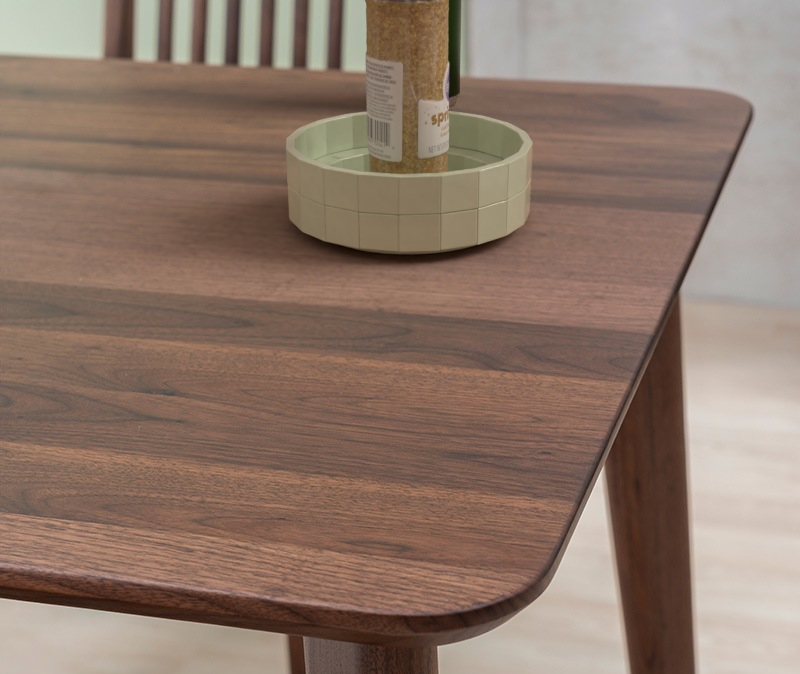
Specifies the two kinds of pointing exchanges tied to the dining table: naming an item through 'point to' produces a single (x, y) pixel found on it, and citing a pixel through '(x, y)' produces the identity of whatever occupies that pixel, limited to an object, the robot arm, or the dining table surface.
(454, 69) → the green drink can
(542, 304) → the dining table surface
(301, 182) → the dish
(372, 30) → the sprinkles bottle
